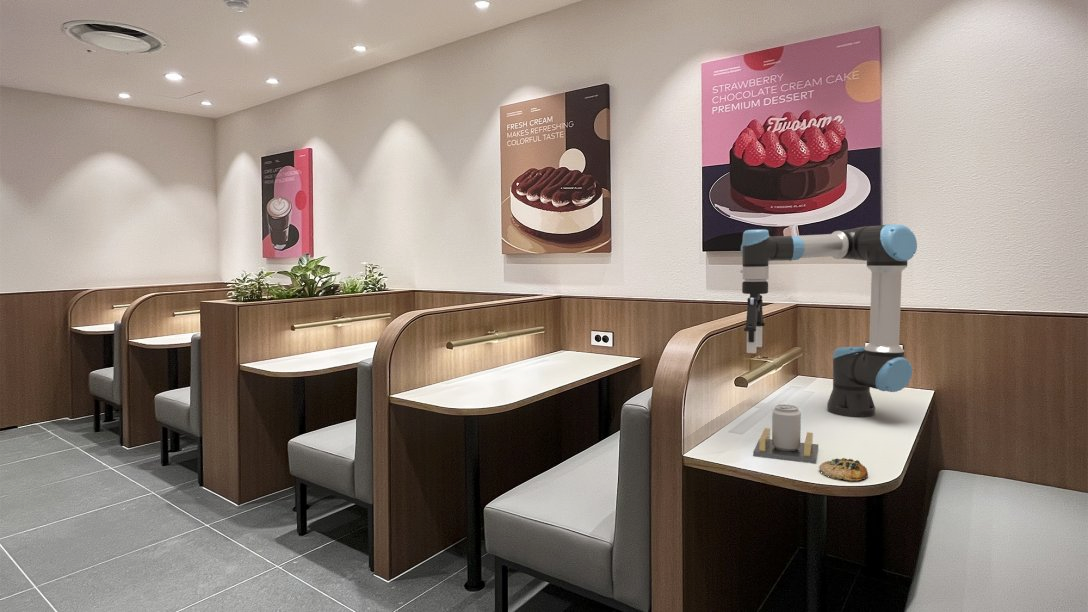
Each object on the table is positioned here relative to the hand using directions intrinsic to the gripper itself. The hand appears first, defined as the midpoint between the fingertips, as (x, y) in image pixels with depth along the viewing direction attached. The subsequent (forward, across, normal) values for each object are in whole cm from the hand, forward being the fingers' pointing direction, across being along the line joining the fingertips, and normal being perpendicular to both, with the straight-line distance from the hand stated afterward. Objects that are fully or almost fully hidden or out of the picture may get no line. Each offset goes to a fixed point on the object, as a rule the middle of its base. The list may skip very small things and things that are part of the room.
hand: (754, 349), depth 189 cm
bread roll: (+27, +27, +25) cm, 46 cm away
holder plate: (+27, +14, +11) cm, 32 cm away
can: (+26, +14, +10) cm, 31 cm away
